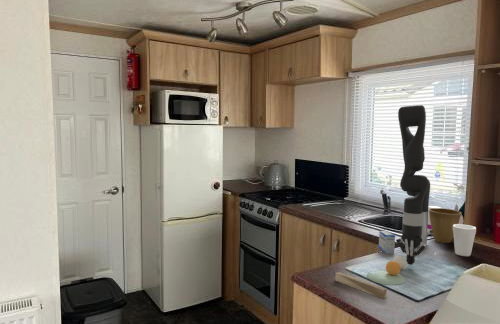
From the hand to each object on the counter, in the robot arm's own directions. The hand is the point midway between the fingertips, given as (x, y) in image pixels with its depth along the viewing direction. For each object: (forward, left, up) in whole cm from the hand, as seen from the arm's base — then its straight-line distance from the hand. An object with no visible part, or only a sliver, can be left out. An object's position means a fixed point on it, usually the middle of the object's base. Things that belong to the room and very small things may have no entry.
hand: (410, 264), depth 161 cm
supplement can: (-53, +40, -2) cm, 66 cm away
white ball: (+2, -5, +1) cm, 6 cm away
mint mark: (+11, -15, -2) cm, 19 cm away
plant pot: (-38, +37, -2) cm, 53 cm away
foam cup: (-17, +34, -2) cm, 38 cm away
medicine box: (-23, 0, -2) cm, 23 cm away
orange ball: (+8, -11, +1) cm, 14 cm away
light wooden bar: (+20, -29, -2) cm, 36 cm away
